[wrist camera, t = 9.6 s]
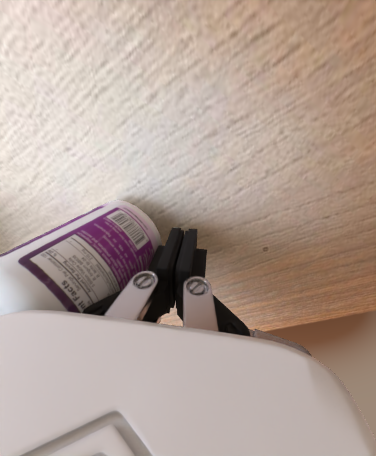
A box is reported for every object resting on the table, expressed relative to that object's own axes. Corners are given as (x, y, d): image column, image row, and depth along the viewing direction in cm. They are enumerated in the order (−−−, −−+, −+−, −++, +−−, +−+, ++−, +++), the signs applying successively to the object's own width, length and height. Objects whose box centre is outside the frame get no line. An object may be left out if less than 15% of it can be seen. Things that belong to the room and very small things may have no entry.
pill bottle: (119, 257, 16) (-33, 380, 9) (95, 197, 14) (-142, 299, 6) (173, 269, 14) (21, 457, 6) (154, 198, 11) (-128, 372, 4)
